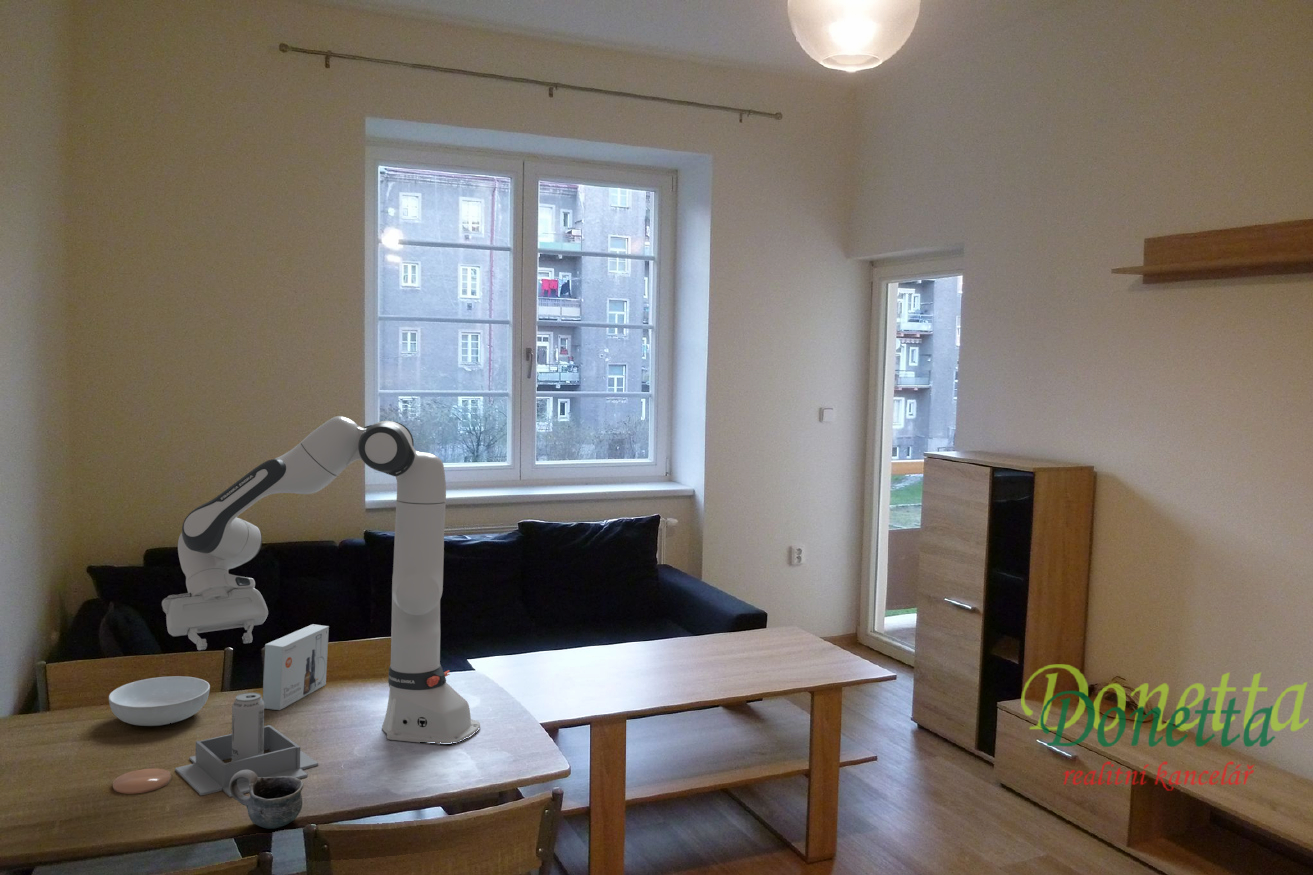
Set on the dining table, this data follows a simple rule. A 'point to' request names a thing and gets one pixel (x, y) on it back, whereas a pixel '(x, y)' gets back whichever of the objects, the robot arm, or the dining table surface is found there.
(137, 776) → the coaster
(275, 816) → the mug
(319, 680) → the skincare box
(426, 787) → the dining table surface
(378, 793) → the dining table surface
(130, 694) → the serving bowl
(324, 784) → the dining table surface
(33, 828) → the dining table surface
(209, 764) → the grey open box
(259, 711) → the energy drink can
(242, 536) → the robot arm
